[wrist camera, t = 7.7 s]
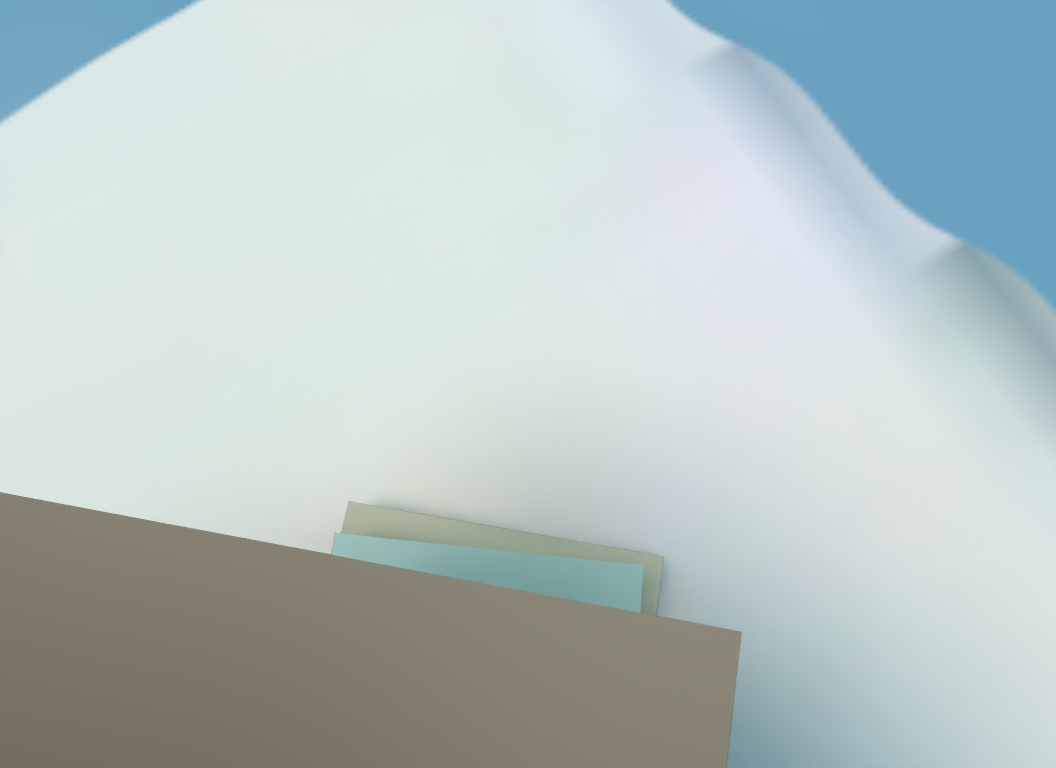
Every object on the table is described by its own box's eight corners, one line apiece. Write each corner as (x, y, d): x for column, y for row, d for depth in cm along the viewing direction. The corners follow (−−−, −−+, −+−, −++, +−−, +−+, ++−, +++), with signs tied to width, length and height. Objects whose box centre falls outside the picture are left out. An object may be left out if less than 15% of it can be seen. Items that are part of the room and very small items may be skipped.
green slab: (613, 887, 19) (619, 918, 17) (307, 848, 19) (279, 874, 17) (635, 569, 21) (643, 565, 19) (355, 540, 21) (334, 532, 19)
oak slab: (608, 882, 21) (616, 917, 19) (301, 819, 22) (269, 845, 19) (652, 561, 23) (664, 556, 21) (369, 511, 24) (348, 501, 21)
